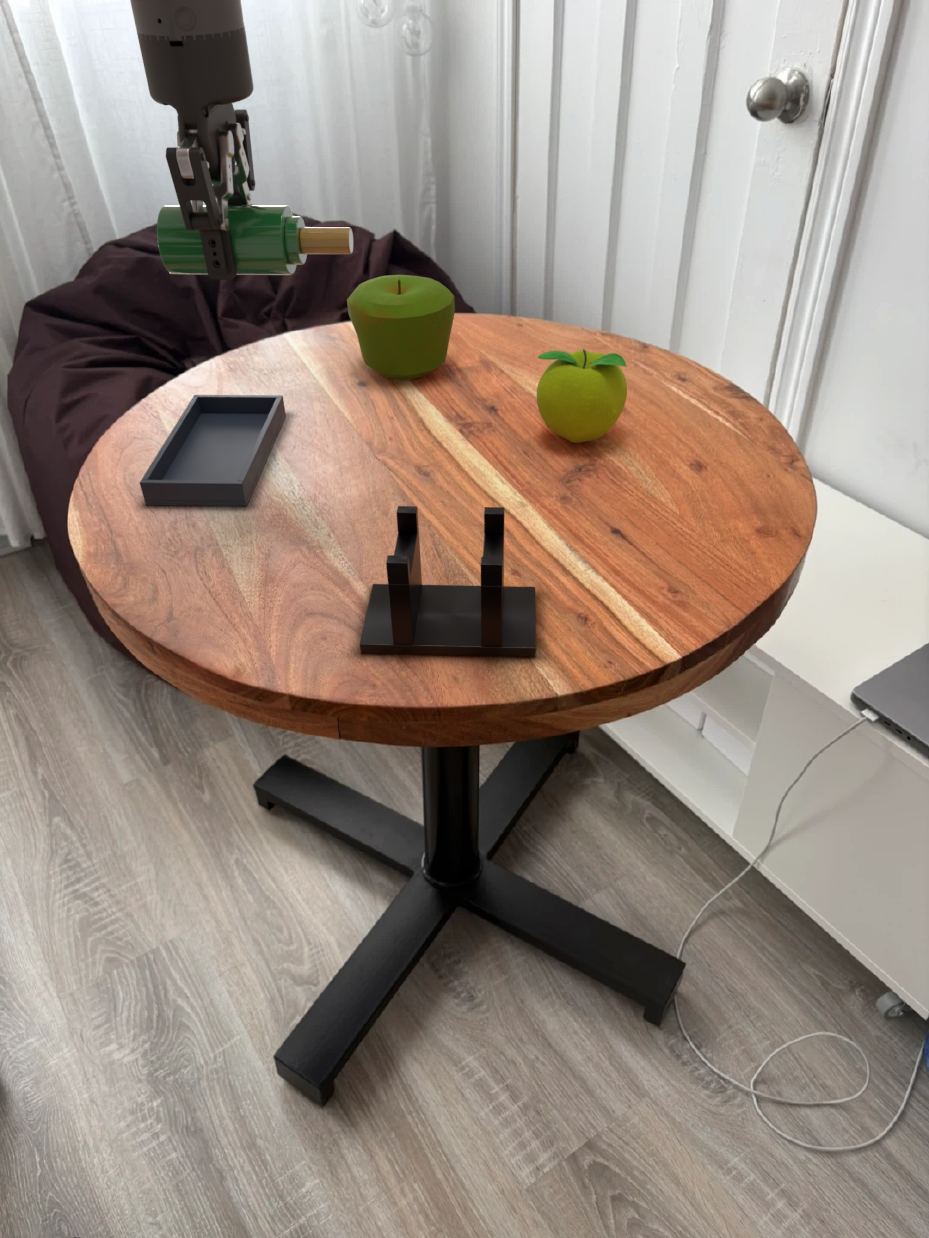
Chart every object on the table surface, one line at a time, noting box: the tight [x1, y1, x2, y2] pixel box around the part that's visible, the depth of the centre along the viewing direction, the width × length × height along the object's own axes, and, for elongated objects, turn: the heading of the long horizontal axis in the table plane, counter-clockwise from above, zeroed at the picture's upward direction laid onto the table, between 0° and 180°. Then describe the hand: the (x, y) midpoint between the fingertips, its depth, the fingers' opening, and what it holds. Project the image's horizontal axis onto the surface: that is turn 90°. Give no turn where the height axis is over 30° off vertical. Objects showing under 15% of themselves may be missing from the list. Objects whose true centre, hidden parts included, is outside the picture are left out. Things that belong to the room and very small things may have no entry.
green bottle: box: [156, 205, 354, 276], centre depth 75 cm, size 15×5×5 cm, turn 86°
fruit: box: [536, 348, 628, 444], centre depth 98 cm, size 9×9×10 cm
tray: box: [139, 394, 287, 507], centre depth 98 cm, size 19×10×3 cm, turn 177°
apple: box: [346, 274, 456, 382], centre depth 112 cm, size 12×12×11 cm
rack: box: [359, 505, 537, 658], centre depth 74 cm, size 14×8×9 cm, turn 87°
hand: (232, 264), depth 76 cm, fingers closed on green bottle, 5 cm apart
